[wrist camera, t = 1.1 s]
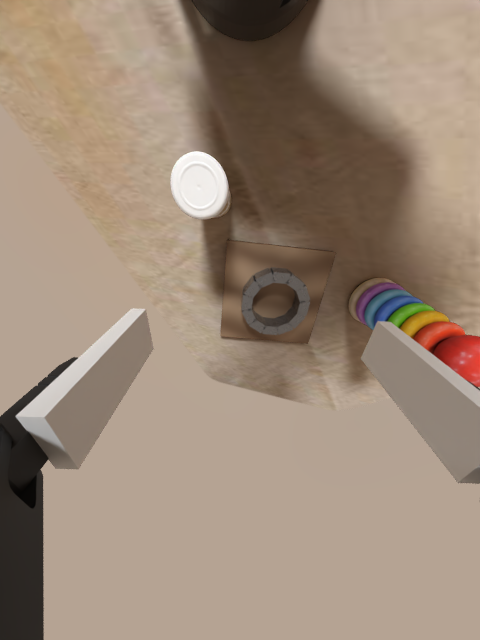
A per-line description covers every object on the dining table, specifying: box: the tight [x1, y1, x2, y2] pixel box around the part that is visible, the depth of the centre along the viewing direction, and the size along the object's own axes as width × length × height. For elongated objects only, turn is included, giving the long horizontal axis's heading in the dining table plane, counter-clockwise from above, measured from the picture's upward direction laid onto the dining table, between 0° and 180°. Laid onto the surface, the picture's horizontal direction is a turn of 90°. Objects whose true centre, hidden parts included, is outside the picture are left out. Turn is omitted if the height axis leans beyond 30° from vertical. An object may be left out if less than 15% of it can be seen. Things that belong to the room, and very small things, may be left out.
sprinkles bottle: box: [171, 151, 232, 220], centre depth 22 cm, size 5×4×14 cm
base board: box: [220, 240, 336, 344], centre depth 33 cm, size 16×16×2 cm
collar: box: [241, 267, 310, 335], centre depth 31 cm, size 10×10×3 cm
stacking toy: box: [349, 278, 480, 387], centre depth 26 cm, size 8×8×19 cm
